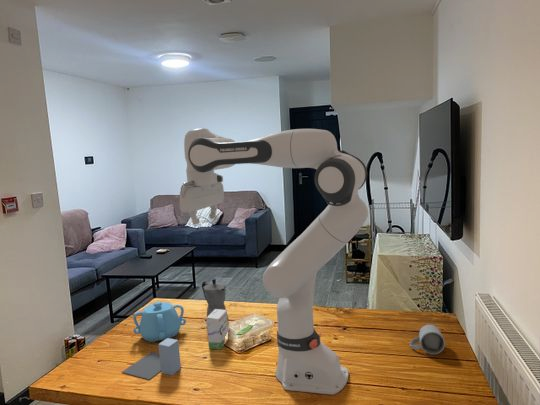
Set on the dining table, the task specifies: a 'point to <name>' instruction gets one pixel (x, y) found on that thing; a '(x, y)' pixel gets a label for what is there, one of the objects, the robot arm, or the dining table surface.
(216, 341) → the ink box
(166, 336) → the decorative pot
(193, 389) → the dining table surface
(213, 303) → the coffeepot
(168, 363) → the block
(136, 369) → the mat
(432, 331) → the ceramic mug
